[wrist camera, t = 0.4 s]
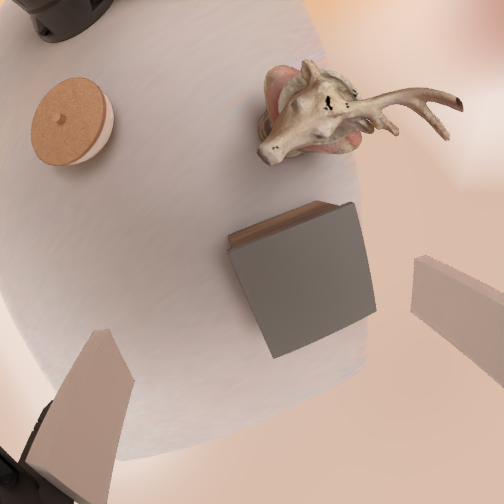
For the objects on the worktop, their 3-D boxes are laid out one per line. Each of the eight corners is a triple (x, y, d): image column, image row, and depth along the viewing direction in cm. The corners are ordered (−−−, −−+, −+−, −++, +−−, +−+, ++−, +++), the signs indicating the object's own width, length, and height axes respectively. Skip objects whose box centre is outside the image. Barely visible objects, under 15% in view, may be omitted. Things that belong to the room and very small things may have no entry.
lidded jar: (111, 80, 28) (85, 56, 19) (135, 142, 31) (110, 130, 22) (52, 120, 27) (16, 109, 18) (72, 181, 31) (36, 184, 22)
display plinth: (223, 233, 36) (227, 252, 26) (319, 196, 36) (354, 202, 27) (259, 319, 40) (273, 358, 30) (343, 282, 40) (376, 311, 31)
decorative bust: (221, 181, 33) (330, 116, 9) (245, 93, 32) (348, -35, 8) (300, 203, 36) (470, 204, 12) (317, 120, 35) (461, 53, 11)
